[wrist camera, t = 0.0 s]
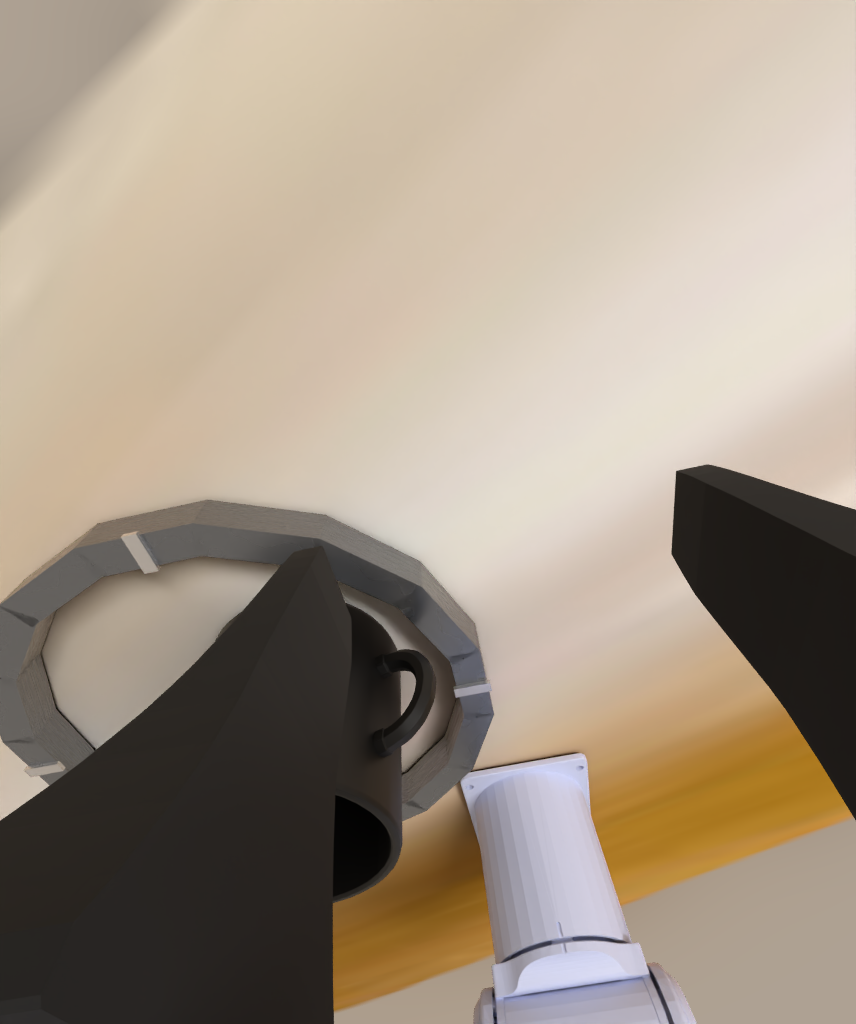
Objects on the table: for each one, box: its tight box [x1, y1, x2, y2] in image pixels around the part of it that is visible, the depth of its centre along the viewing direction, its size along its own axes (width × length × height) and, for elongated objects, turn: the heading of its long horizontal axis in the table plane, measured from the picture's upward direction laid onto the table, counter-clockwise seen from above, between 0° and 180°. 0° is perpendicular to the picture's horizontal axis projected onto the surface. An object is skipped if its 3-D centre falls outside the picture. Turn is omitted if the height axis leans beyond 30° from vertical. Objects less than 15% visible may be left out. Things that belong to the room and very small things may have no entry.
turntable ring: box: [0, 500, 494, 821], centre depth 26 cm, size 24×24×2 cm
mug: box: [216, 603, 436, 903], centre depth 21 cm, size 9×12×9 cm
